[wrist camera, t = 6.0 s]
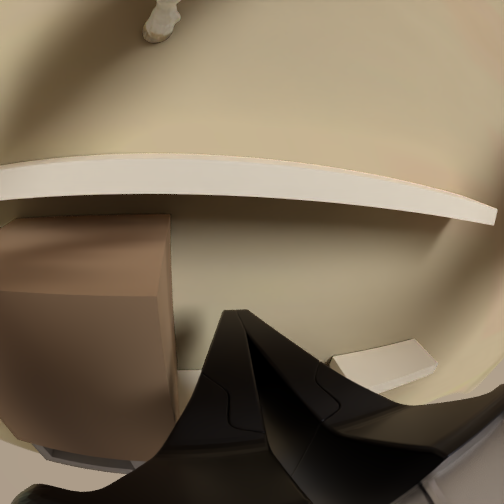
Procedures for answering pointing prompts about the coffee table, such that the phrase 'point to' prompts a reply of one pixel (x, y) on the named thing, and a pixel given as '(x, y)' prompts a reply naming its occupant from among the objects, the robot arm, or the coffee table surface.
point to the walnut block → (88, 334)
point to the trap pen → (254, 185)
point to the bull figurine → (161, 21)
